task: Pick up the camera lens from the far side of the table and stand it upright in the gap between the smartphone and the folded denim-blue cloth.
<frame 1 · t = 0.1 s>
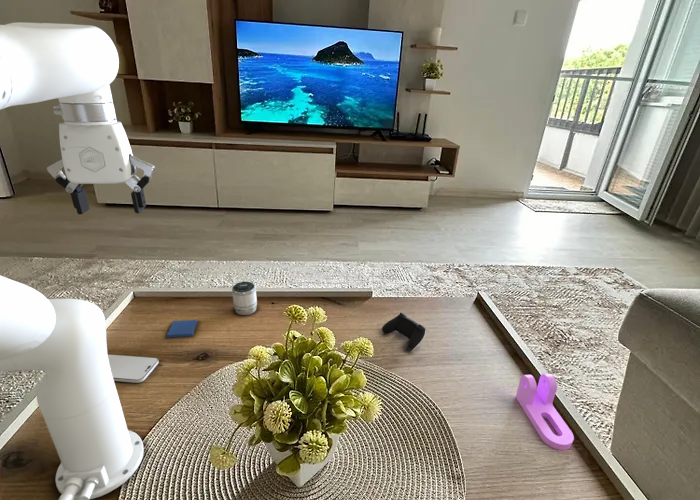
hand: (112, 211, 73), 37 cm above the table, tool pointing down, fingers open, 9 cm apart
smartphone: (120, 370, 88), on the table
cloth: (182, 329, 101), on the table
camera lens: (246, 310, 111), on the table
bracket: (544, 422, 78), on the table
gaming controller: (404, 338, 101), on the table
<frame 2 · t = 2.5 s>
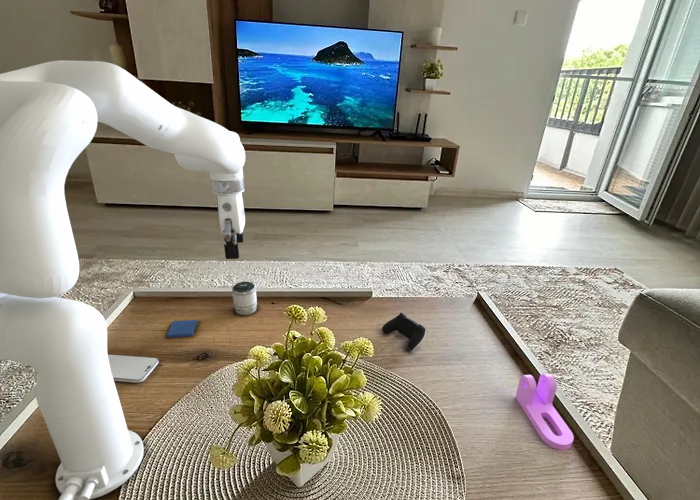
hand: (235, 250, 102), 19 cm above the table, tool pointing down, fingers open, 9 cm apart
nothing on the table moved.
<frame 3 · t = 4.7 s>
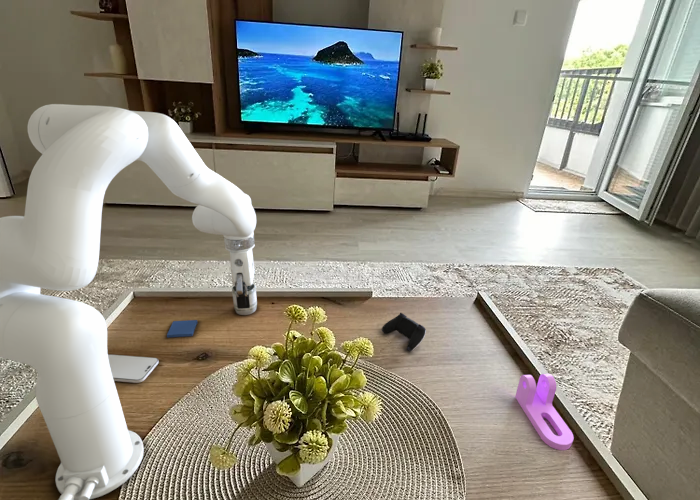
hand: (245, 300, 109), 3 cm above the table, tool pointing down, fingers closed on camera lens, 6 cm apart
camera lens: (246, 310, 111), on the table, touching gripper
everything else where it was.
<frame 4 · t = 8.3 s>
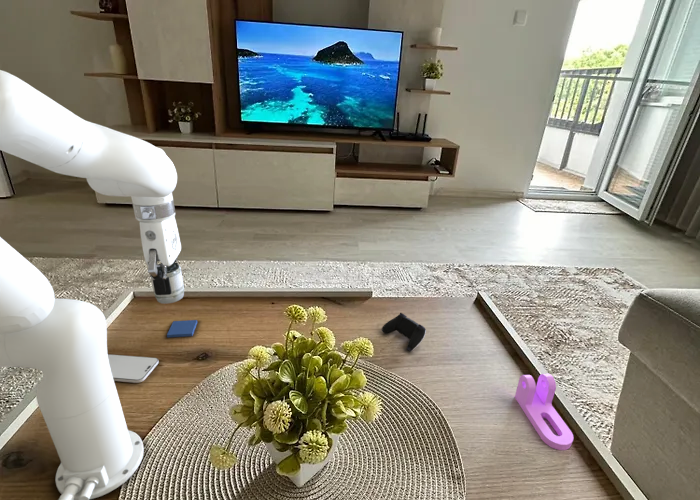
hand: (168, 285, 88), 17 cm above the table, tool pointing down, fingers closed on camera lens, 6 cm apart
camera lens: (170, 297, 90), point 14 cm above the table, touching gripper
everything else where it was.
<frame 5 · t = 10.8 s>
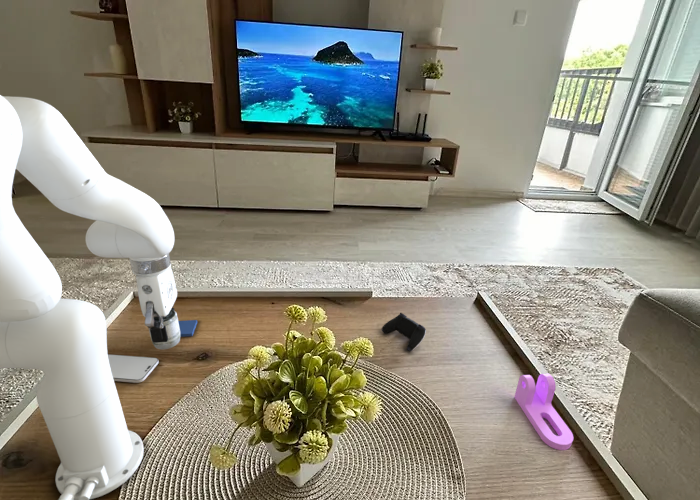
hand: (165, 331, 91), 6 cm above the table, tool pointing down, fingers closed on camera lens, 6 cm apart
camera lens: (167, 342, 92), point 3 cm above the table, touching gripper
everything else where it was.
when the fingers open (3 cm above the table, at t = 12.2 s): camera lens stays where it is, on the table.
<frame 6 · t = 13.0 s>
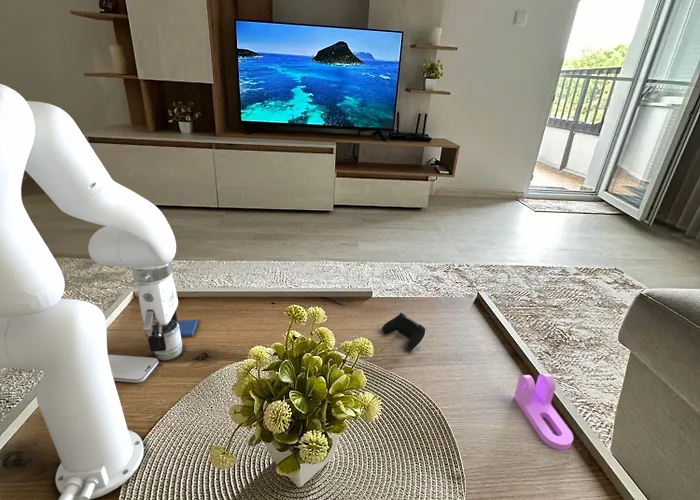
hand: (165, 337, 91), 5 cm above the table, tool pointing down, fingers open, 9 cm apart
camera lens: (169, 353, 93), on the table
everything else where it was.
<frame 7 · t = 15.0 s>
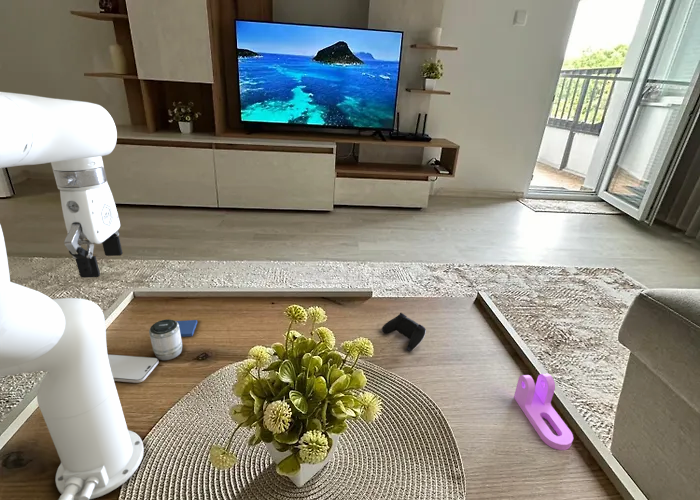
hand: (103, 265, 76), 26 cm above the table, tool pointing down, fingers open, 9 cm apart
nothing on the table moved.
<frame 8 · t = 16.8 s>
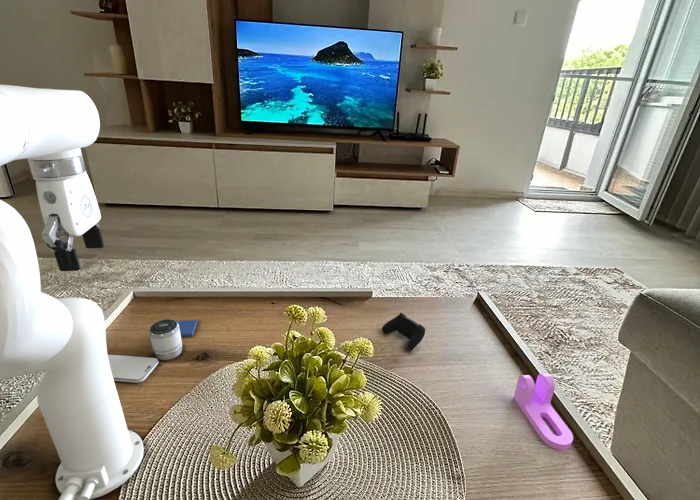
hand: (83, 258, 74), 28 cm above the table, tool pointing down, fingers open, 9 cm apart
nothing on the table moved.
at the end: camera lens 0.0 cm from the target spot on the table beside the smartphone, on the table; camera lens tilted 0°; the gripper is holding nothing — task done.
